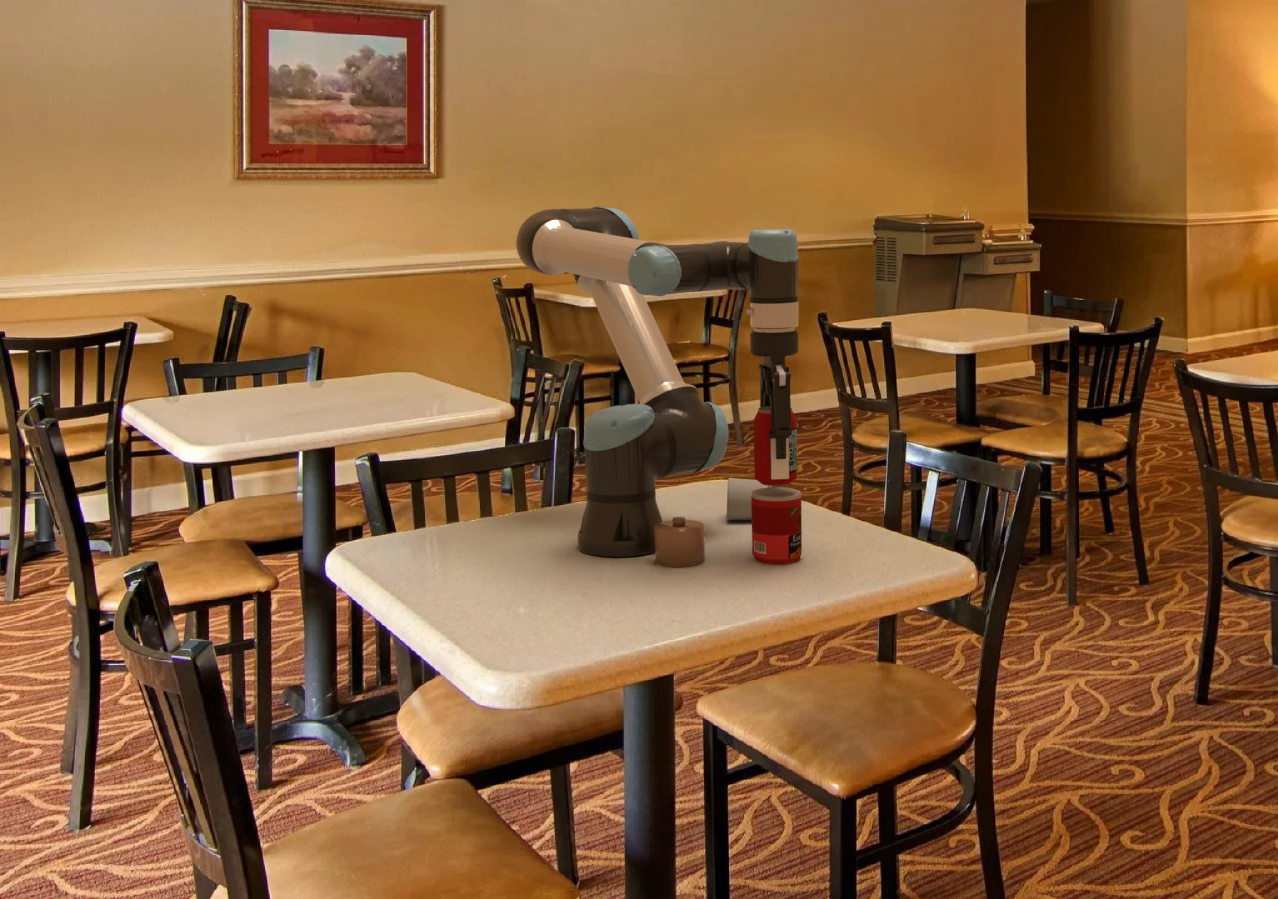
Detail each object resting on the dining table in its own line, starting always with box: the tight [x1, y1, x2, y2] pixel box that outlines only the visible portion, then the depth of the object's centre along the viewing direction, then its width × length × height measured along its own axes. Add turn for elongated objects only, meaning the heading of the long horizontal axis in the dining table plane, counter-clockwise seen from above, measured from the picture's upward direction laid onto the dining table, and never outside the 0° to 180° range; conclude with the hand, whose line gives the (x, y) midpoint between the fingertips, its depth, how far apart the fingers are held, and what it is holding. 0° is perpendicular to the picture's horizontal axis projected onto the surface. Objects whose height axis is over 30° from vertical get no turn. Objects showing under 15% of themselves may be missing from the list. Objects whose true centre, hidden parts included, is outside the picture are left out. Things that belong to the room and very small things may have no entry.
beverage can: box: [753, 406, 798, 487], centre depth 209 cm, size 7×7×12 cm
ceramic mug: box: [726, 477, 773, 521], centre depth 239 cm, size 11×8×8 cm
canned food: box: [751, 486, 803, 565], centre depth 211 cm, size 8×8×11 cm
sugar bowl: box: [654, 516, 706, 569], centre depth 212 cm, size 8×8×7 cm
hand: (775, 473), depth 209 cm, fingers closed on beverage can, 7 cm apart
